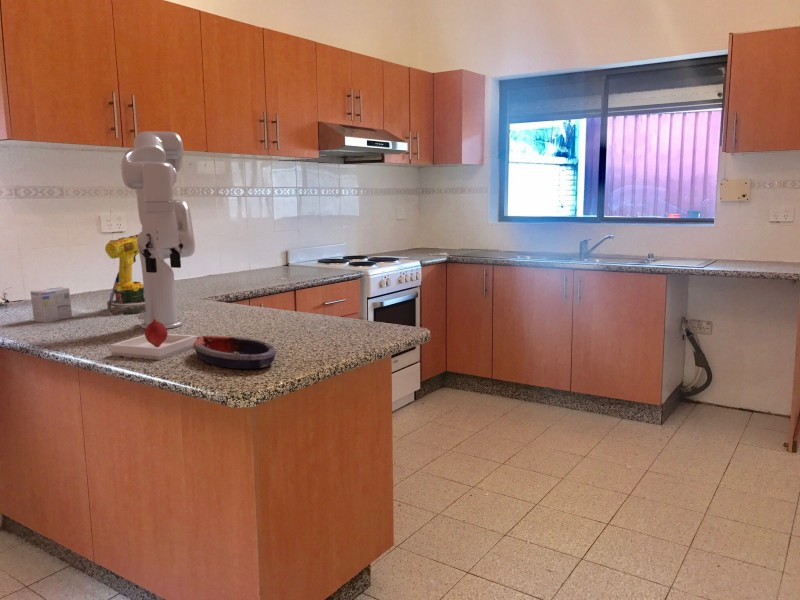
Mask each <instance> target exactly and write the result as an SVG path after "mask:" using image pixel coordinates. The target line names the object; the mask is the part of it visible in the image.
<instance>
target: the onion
mask: <svg viewBox="0 0 800 600" xmlns="http://www.w3.org/2000/svg"><path fill="white" fill-rule="evenodd" d="M167 334H169V333H168V330H167V329H166V327H165V326H164V325H163V324H162V323H160V322H158V320H157V319H156V318H155V319H154V320H153V322H152V323H150V324H149V325H148V326H147V328H146V329H144V335H145V337H146V339H147V341H148V342H149V343H151V344H152V345H154V346H155V347H159V346H160V345H161V344H162V343H163V342H164V341H165V340H166V338H167Z"/></svg>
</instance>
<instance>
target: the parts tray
mask: <svg viewBox="0 0 800 600" xmlns="http://www.w3.org/2000/svg"><path fill="white" fill-rule="evenodd" d="M198 337H199V335H194V334H193V335H190V334H179V333H178V334H177V333H168V334H167V338H166V340H165V341H164V342H163V343H162V344H161V345H160V346H159V347H155V346H154V345H152V344H151V343H149V342H148V341H147V339H146V337H145V334H143V335H140V336H139V335H138V336H136V337H132V338H129V339H126V340H122V341H119V342H114V343H112V344H109V345H110V354H111V355H114V356H113V357H119V356H124V357H123V358H131V357H134V359H143V358H144V359H145V360H158V361H161V360H164V359H167V358H170V357H172V356H176V355H178V354H180V353H184V352H186V351H189V350H192V349H194V348H193V344H194V343H195V341H196V340H197V338H198Z"/></svg>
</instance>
